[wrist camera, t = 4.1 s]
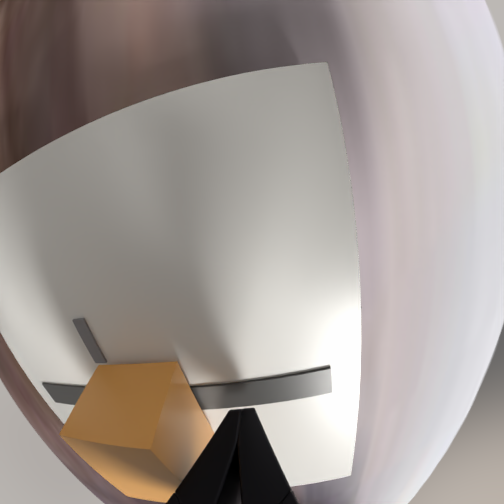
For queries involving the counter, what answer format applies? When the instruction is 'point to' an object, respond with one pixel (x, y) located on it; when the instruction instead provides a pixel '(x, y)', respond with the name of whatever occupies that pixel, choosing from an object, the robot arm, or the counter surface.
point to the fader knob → (139, 428)
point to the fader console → (198, 258)
